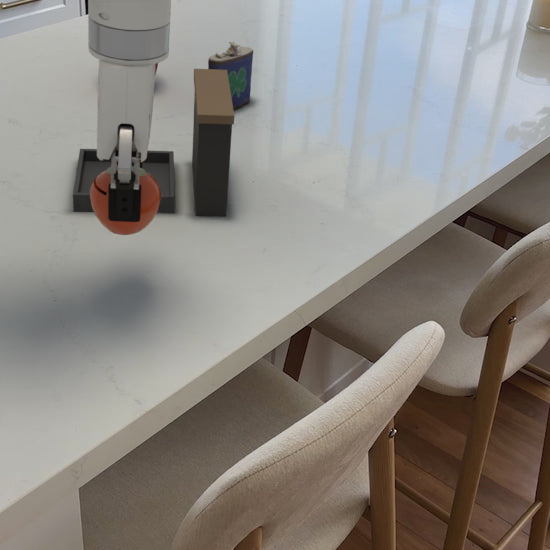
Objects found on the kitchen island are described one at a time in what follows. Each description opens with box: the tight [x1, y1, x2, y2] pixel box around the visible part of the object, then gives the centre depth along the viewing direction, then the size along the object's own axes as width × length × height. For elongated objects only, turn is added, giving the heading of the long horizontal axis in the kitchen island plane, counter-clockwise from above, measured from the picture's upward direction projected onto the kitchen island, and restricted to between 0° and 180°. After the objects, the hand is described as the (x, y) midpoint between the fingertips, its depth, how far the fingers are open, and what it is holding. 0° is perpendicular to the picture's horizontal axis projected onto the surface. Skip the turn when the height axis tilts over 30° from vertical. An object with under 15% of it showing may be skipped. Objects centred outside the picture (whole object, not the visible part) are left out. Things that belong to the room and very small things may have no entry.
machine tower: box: [191, 68, 235, 217], centre depth 116 cm, size 4×14×14 cm, turn 6°
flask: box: [207, 41, 254, 111], centre depth 139 cm, size 9×3×11 cm, turn 139°
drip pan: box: [72, 148, 176, 214], centre depth 118 cm, size 13×13×2 cm
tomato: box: [90, 164, 161, 236], centre depth 93 cm, size 7×7×8 cm
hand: (125, 198), depth 93 cm, fingers closed on tomato, 7 cm apart
